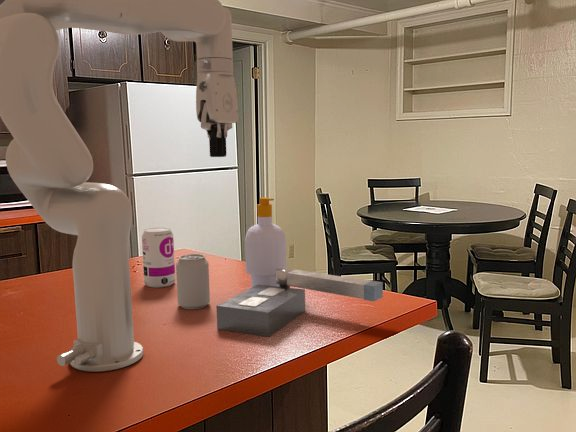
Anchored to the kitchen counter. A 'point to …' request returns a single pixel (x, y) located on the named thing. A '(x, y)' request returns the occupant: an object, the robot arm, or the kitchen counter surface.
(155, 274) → the supplement can
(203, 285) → the can
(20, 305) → the kitchen counter surface
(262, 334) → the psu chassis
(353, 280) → the bar
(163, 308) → the kitchen counter surface
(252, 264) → the soap bottle
